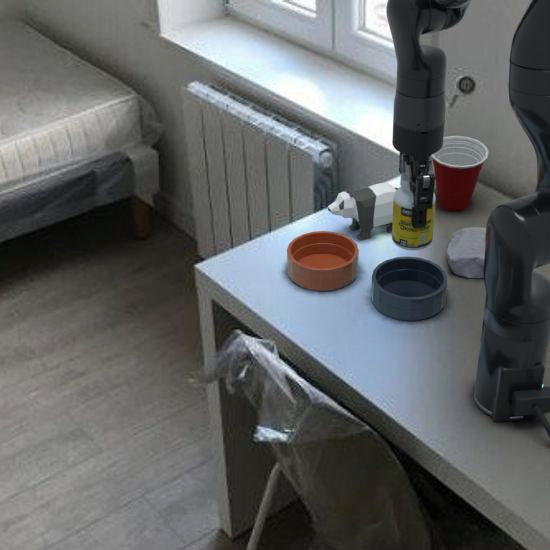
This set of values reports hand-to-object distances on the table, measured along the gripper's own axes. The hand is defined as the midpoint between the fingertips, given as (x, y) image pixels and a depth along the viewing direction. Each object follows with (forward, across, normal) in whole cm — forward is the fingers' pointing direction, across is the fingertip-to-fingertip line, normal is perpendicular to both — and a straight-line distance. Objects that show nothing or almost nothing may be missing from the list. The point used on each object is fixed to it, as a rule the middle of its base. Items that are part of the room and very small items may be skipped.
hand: (413, 214), depth 152 cm
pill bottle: (+5, 0, 0) cm, 5 cm away
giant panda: (+16, -22, -3) cm, 28 cm away
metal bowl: (+16, 0, 0) cm, 16 cm away
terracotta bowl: (+16, -10, -13) cm, 23 cm away
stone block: (+17, -10, +14) cm, 24 cm away
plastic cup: (+16, -29, +15) cm, 37 cm away
